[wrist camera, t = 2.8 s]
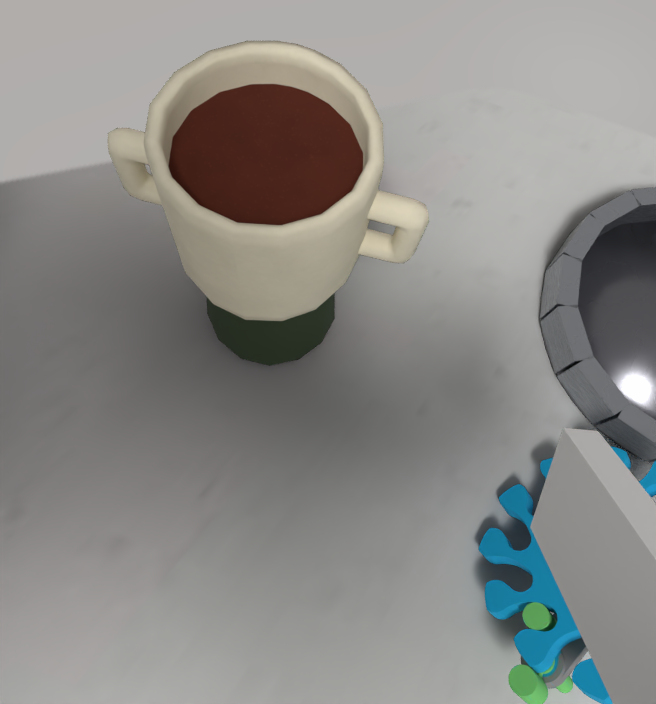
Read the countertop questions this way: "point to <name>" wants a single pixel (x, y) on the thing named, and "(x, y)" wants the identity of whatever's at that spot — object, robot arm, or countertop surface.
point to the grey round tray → (608, 319)
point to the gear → (542, 608)
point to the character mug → (268, 189)
